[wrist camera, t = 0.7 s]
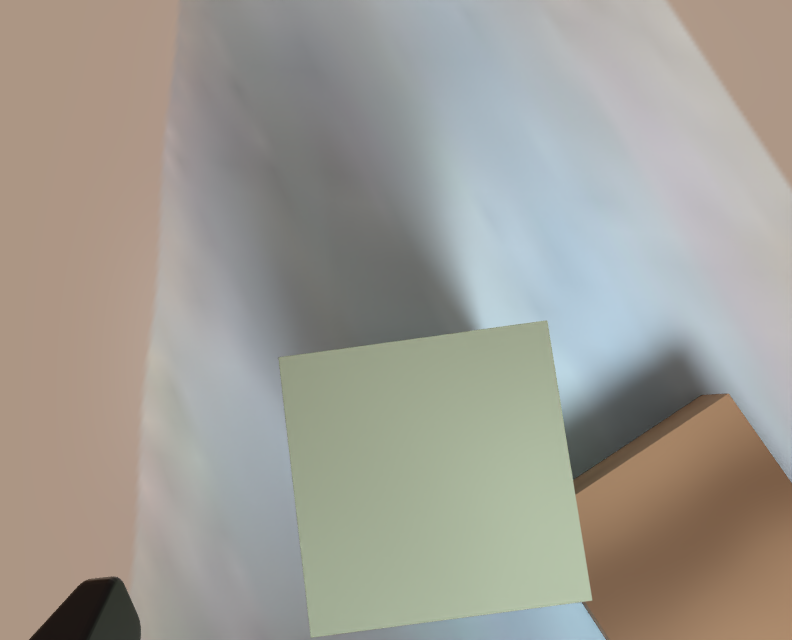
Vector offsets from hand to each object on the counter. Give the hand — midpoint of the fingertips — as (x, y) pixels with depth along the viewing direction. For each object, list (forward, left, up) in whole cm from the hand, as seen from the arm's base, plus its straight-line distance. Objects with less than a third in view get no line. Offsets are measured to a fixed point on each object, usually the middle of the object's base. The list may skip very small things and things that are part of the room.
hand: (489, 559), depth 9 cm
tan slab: (-6, -5, -16) cm, 17 cm away
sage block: (+1, 0, -15) cm, 15 cm away
